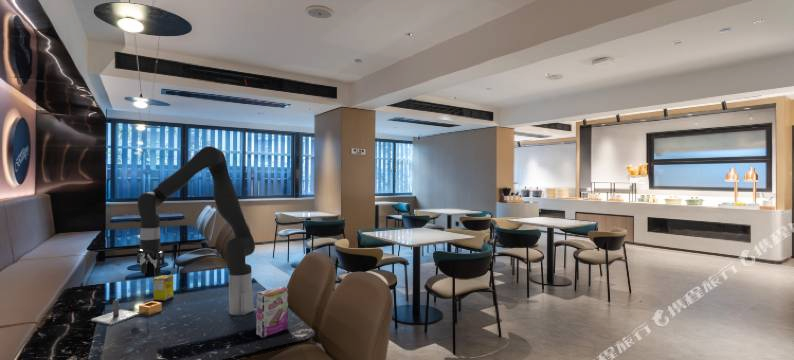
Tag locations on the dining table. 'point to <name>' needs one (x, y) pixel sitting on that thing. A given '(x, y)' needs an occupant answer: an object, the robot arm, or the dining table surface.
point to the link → (150, 308)
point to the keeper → (115, 315)
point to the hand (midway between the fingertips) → (150, 274)
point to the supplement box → (163, 288)
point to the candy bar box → (272, 311)
